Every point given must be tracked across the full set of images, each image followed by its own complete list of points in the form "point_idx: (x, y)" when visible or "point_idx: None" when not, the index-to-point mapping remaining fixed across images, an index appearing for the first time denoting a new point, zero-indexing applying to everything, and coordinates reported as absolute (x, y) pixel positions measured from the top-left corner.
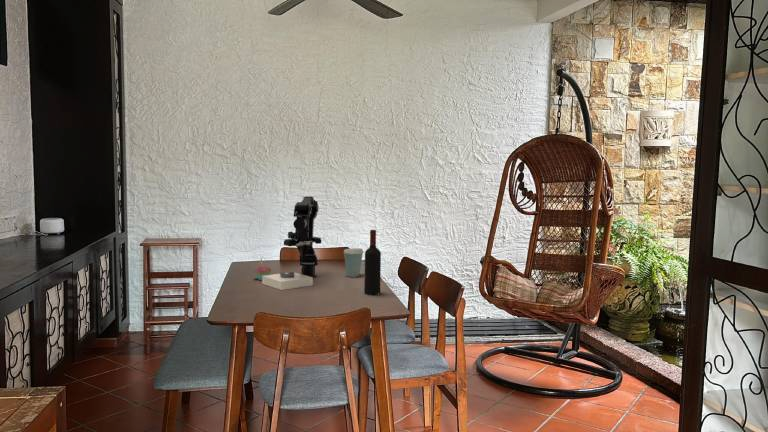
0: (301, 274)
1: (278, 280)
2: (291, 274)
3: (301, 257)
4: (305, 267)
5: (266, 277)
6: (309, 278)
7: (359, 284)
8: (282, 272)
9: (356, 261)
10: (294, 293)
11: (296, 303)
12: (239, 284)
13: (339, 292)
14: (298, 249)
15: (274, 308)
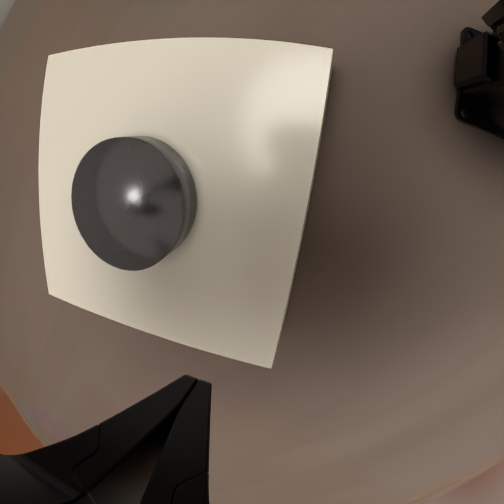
0: (299, 217)
1: (47, 257)
2: (126, 266)
3: (175, 386)
4: (500, 85)
5: (42, 113)
6: (243, 357)
7: (441, 455)
8: (93, 172)
9: None
10: (99, 362)
11: (65, 420)
12: (26, 23)
13: (253, 473)
14: (51, 452)
15: (18, 394)
